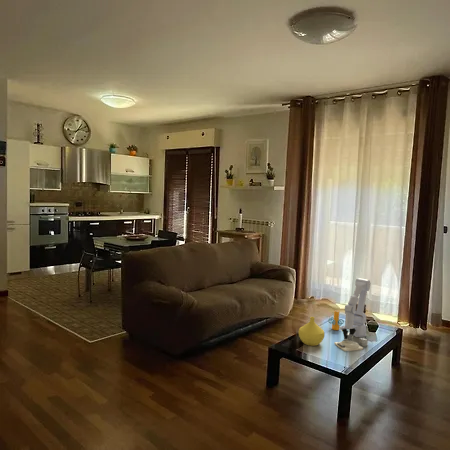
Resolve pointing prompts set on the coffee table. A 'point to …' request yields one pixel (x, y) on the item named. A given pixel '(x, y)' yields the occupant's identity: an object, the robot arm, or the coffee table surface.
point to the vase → (311, 333)
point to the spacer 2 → (363, 342)
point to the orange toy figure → (336, 321)
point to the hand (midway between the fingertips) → (348, 338)
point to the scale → (348, 345)
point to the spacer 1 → (349, 337)
